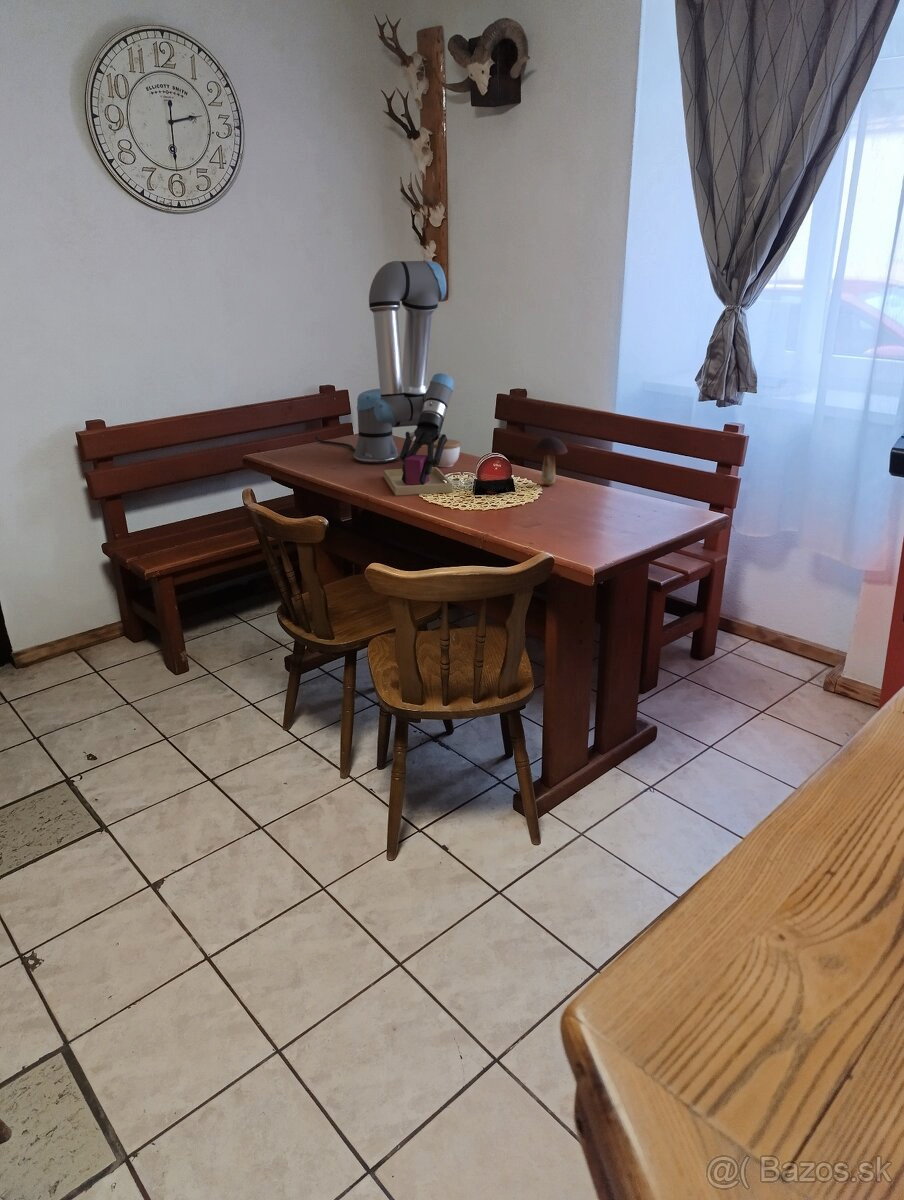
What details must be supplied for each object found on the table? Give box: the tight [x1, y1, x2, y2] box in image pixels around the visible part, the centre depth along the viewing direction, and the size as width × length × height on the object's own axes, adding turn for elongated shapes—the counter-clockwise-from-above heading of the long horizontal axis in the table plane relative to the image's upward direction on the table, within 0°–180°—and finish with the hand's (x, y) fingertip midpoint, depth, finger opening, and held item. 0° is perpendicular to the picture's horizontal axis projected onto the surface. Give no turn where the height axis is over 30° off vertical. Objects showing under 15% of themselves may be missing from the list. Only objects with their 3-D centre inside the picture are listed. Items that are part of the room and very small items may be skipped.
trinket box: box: [433, 438, 461, 468], centre depth 272 cm, size 11×11×9 cm
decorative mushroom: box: [531, 436, 569, 487], centre depth 247 cm, size 11×11×15 cm
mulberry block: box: [405, 454, 429, 486], centre depth 249 cm, size 7×5×8 cm
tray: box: [383, 466, 453, 496], centre depth 250 cm, size 21×17×3 cm
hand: (412, 481), depth 246 cm, fingers open, 5 cm apart
